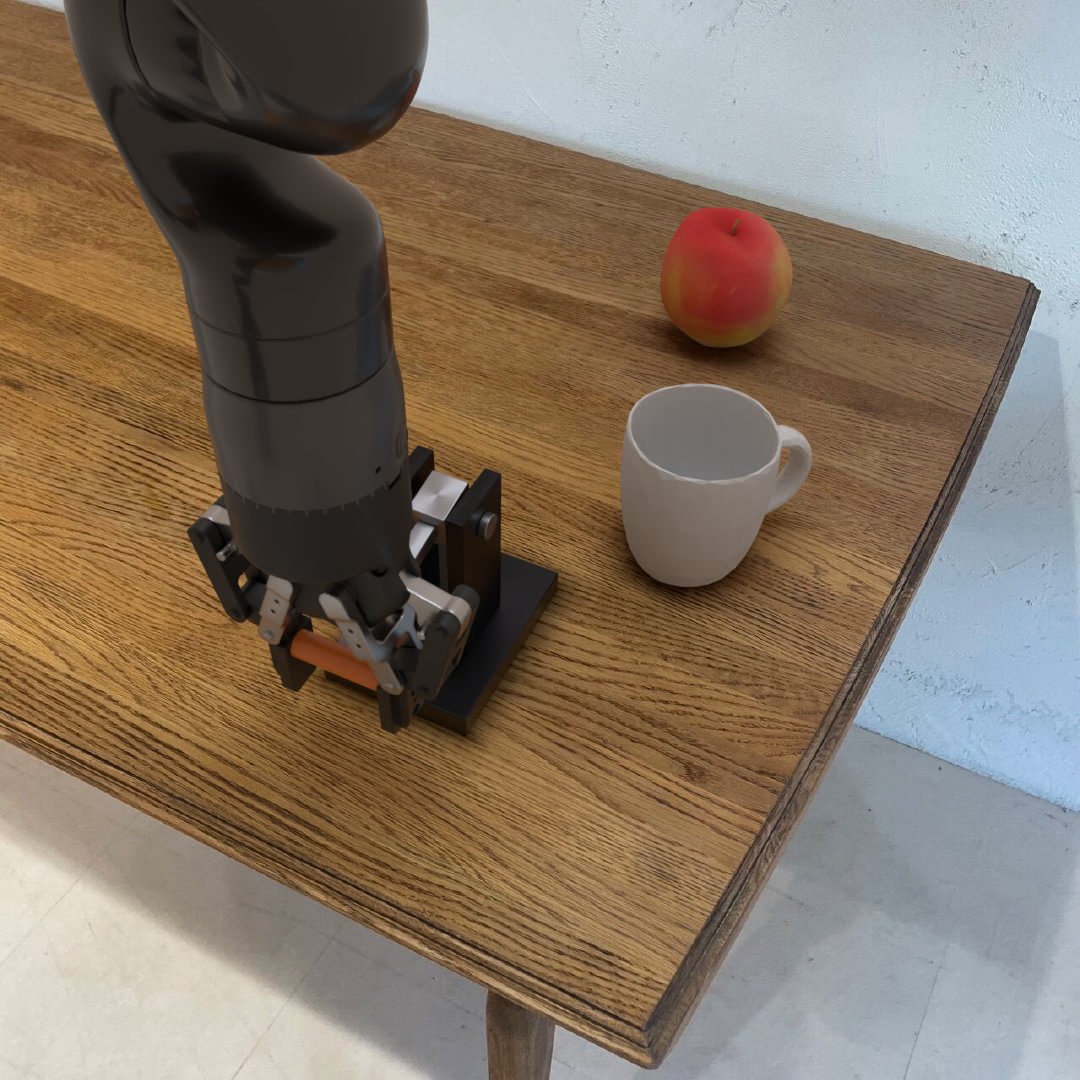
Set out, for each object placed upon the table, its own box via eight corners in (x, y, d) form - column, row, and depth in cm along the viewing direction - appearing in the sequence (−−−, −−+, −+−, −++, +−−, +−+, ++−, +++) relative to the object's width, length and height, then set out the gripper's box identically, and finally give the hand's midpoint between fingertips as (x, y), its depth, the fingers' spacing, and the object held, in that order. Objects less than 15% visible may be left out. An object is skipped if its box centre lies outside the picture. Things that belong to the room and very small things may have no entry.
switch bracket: (466, 736, 62) (462, 590, 53) (325, 677, 64) (299, 529, 56) (558, 589, 70) (567, 441, 61) (428, 541, 72) (420, 393, 64)
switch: (384, 703, 54) (376, 678, 53) (295, 666, 56) (284, 641, 54) (496, 518, 61) (493, 490, 59) (414, 489, 62) (408, 461, 60)
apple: (696, 386, 84) (715, 268, 77) (630, 318, 90) (642, 203, 83) (802, 353, 87) (829, 237, 80) (732, 290, 93) (751, 176, 86)
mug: (655, 622, 68) (675, 500, 61) (588, 525, 73) (598, 403, 66) (831, 561, 72) (869, 440, 65) (754, 473, 78) (781, 353, 70)
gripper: (101, 439, 44) (185, 701, 57) (424, 560, 40) (440, 814, 52) (218, 339, 49) (273, 599, 61) (517, 437, 45) (512, 695, 57)
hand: (350, 697), depth 57 cm, fingers closed on switch, 5 cm apart
